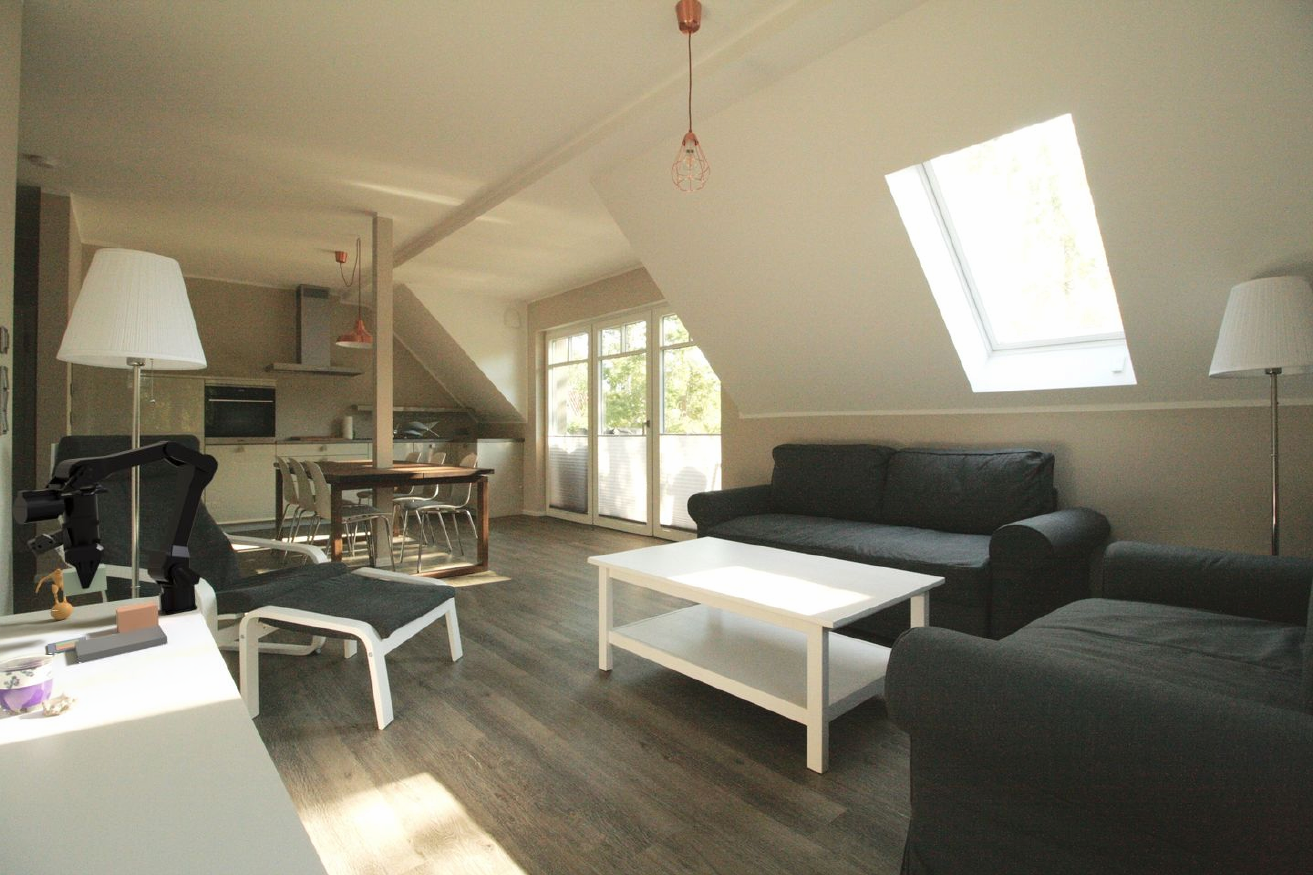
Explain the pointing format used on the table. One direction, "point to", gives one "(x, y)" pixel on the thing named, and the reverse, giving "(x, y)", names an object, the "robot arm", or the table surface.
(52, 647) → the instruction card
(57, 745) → the table surface
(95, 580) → the sage brick
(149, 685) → the table surface
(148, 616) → the terracotta brick
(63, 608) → the figurine
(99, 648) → the base plate
